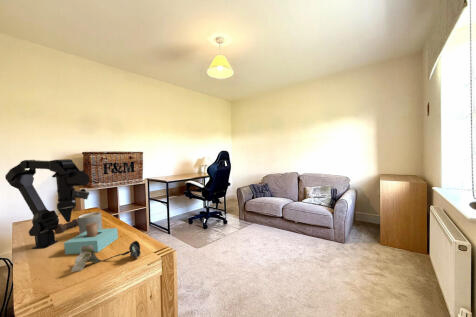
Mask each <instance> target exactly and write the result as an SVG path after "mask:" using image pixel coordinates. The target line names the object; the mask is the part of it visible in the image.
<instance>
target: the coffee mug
mask: <svg viewBox="0 0 476 317" xmlns="http://www.w3.org/2000/svg"><path fill="white" fill-rule="evenodd" d="M77 219H78V223H79V226H78V231H79V233H78V235H80V234H82V233H84V232H86V225H87V224H89V223H94V222H97V229H103V222H102V220H103V218H102V212H101V211H94V212H88V213H84V214H81V215H79V216H78V217H77Z"/></svg>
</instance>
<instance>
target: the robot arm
mask: <svg viewBox="0 0 476 317" xmlns="http://www.w3.org/2000/svg"><path fill="white" fill-rule="evenodd" d="M37 169H39V170H49V171H50V172H54V174H53V175H52V176H51V177H52V178H56V180H55V181H56V192H57V204H56V209H57V211H58V212H59V213H60V214H61V216H62V218H63V219H64V220H65V222H66V223H69V222H71V218H72V212H73V210H74V209H75V208H76V207H77V204H76V203H77V202H76V199H82V200H88V198H89V195H90V192H89V191H86V189H85V188H81V189H80V190H78V189H77V190H76V189H75V187H80V186H82V187H83V186H84V187H85V186H87V185H88V184H89V183H90V176H89V174H88V173H86V172H85V170H80V169H79V167H78V166H77V165H76V164H75V162H74V161H73V159H72V158H71V159H70V158H67V159H66V158H65V159H54V160H53V159H52V160H40V159H24V160H21V161H20V162H19V163H18V164H17V165H15V166H14V167H12V168H10V169H9V170H8V172H7V173H6V174H5V180H6V181H7V183H8V184H9V186H11V187H13V188H16V189H17V190H18V191H19V193H20V194H21V196H22V198H23V200H24V202H25V203H26V205H27V208H28V209H29V210H30V211H31V213H32V215H33V216H32V220H31V223H32V226H31V227H30V229H29V230H28V235H29V236H30V237H34V242H35V243H34V244H35V245H34V246H32V249H46V248H48V247H50V246H52V245H54V244H56V243H58V242H59V241H58V240H56V235H55V234H56V233H55V231H54V230H55V229H57V228H58V224H60V219H59V215H57V213H56V211H55V210H49V209H48V208H47V206H45V203H44V201H43V200H42V198H41V196H40V195H39V193H38V192H37V190H36V188H35V186H34V184H33V183H34V181H35V177H34V175H35V174H37Z"/></svg>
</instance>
